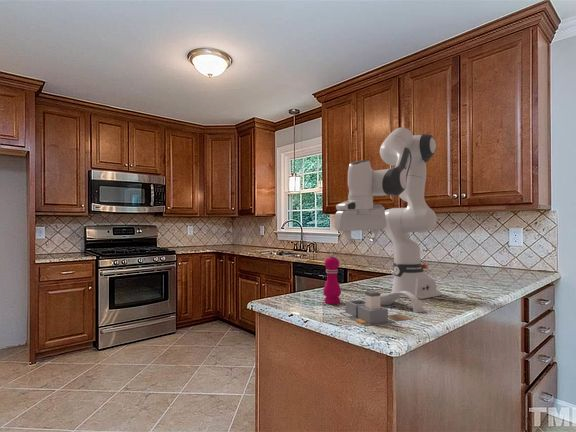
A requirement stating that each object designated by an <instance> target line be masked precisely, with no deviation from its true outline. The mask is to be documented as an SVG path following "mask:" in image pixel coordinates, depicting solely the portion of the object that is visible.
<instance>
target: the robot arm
mask: <svg viewBox="0 0 576 432" xmlns="http://www.w3.org/2000/svg"><path fill="white" fill-rule="evenodd" d="M436 147H437V143H436V140H435V137H434V136H433V135H432V134H429V133H428V134H427V133H425V134H423V133H422V134H415V135H413V133H412V131H410V130H409V128H405V127H398V128H395V129H394V130H392V132H391V133H389V134H388V135H387V137H386V138H385V139H384V141H383V142H382V144H381V145H380V147H379V156H380V158H381V160H382V161H383V162H384V163H385V164H387V165H389V166H392V167H391V168H385V169H378V170H374V169H373V168H372V165H371V162H370V160H368V159H363V160H357V161H353V162H352V161H351V162H350V163H349V165H348V168H347V187H348V196H347V199H348V200H346V201H343V202H340V203H337V204H336V205H335V209H336V210H337V211H336V212H335V214H334V215H335V216H334V228H335V230H336V231H337V232H343V233H344V236H345V237H346V239H347V244H349V245H351V244H354V238H352V237H351V234H352V233H351V232H352V231H353V232H355V231H371V236H370V237H369V242H370V243H376V237H377V235H378V234H379V230H384V231H385V232H386V233H387V235H388V236H389V238H390V240H391V243H392V246H393V259H394V262H393V266H392V267H393V268H392V269H393V281H392V282H393V283H392V286H391V287H392V288H391V292H390V294H391V293H396V292H401V291H408V292H410V293H412V294H413V295H415V296H416V297H417V298H418V299H419V300H423V299H429V298H434V297H440V296H442V295H443V293H442V292H441V291H439V290H437V284H436V281H435V280H434V278H432V277H431V276H429V275H428V274H427V273H426V272H425V271H424V269H425V270H427V269H428V268H429V265H428V264H425V263H423V264H422V263H421V247H420V245H419V244H418V242H416V241H415V240H413V239H411V237H410V236H409V233H426V232H429V231H432V230H434V228H435V227H436V225H437V222H438V221H437V220H438V219H437V218H438V217H437V214H436V212H435V211H434V210H433V209H432V208H431V207H429V205H428V204H427V203H426V199H425V189H426V188H425V187H426V183H427V182H426V181H427V165H426V164H427V162H429V161H430V159H431V158H432V157H433V156H434V154H435V152H436V150H437V148H436ZM378 196H381V197H382V196H392V197H393V196H394V197H395V196H397V197H398V196H399V198H400V200H402V201H403V202H406V203H407V206H406V207H391V208H388V209H385V207H384V206H383V205H382V204H374V197H378ZM399 297H400V298H407V299H409V298H408V297H406V296H404V295H400V296H399ZM399 297H398V298H399Z"/></svg>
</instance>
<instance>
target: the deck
mask: <svg viewBox="0 0 576 432" xmlns="http://www.w3.org/2000/svg"><path fill="white" fill-rule="evenodd" d="M388 319H390V320H392V321H395V322H403V321H411V320H413V317H409V316H406V315H404V314H401V313H397V314H388Z"/></svg>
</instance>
